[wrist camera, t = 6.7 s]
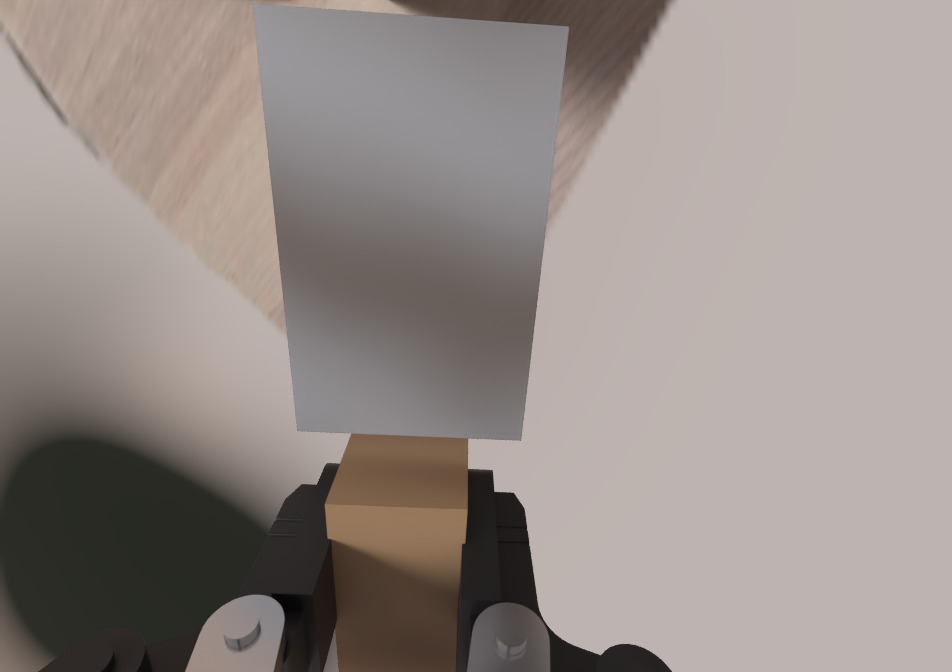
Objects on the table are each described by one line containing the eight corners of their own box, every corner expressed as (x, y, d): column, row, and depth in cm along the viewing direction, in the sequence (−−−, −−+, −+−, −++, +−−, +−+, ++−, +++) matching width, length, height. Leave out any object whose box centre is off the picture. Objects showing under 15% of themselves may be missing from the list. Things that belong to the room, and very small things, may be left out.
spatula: (271, 14, 8) (173, -39, 6) (560, 34, 9) (604, -7, 6) (329, 636, 15) (297, 753, 12) (493, 641, 15) (498, 757, 12)
